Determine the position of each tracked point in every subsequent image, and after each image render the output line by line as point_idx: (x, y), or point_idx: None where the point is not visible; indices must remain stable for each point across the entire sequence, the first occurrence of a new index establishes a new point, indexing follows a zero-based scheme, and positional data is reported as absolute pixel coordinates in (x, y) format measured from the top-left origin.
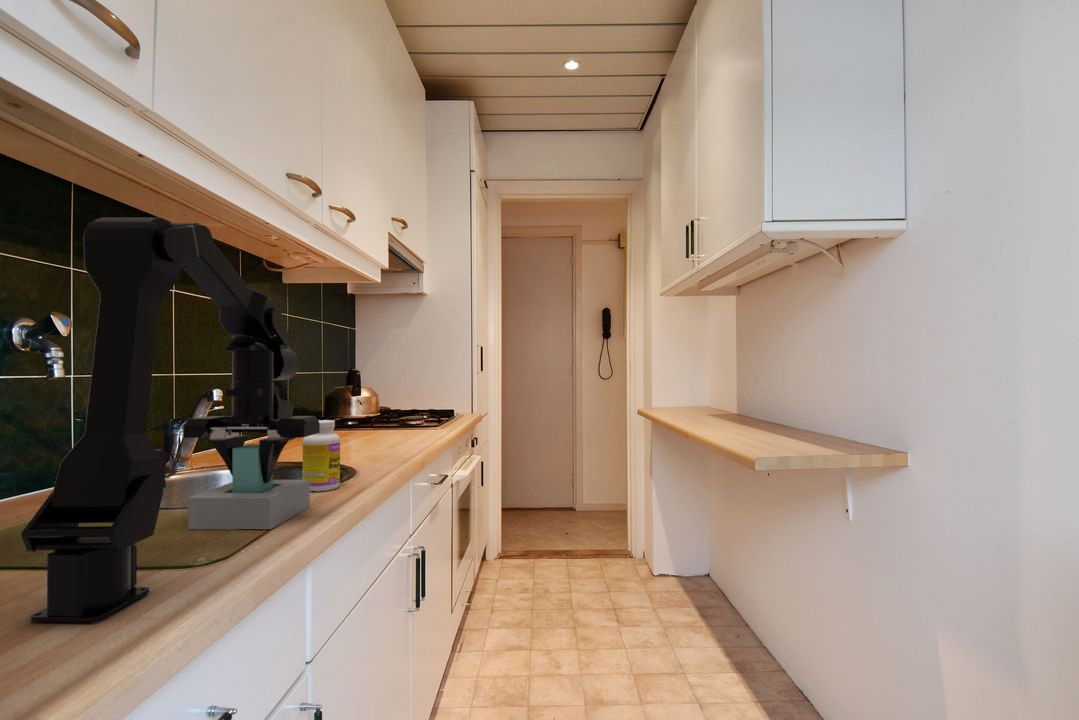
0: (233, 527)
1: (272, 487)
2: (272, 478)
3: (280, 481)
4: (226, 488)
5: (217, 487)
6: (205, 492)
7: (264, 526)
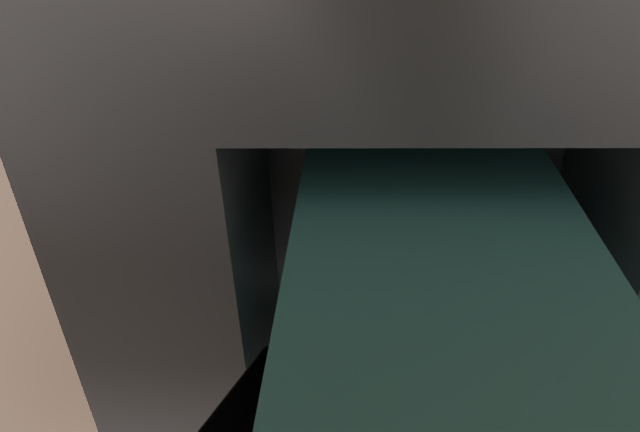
0: None
1: (577, 209)
2: (615, 272)
3: (618, 10)
4: (173, 329)
5: (53, 297)
6: (114, 428)
7: None
